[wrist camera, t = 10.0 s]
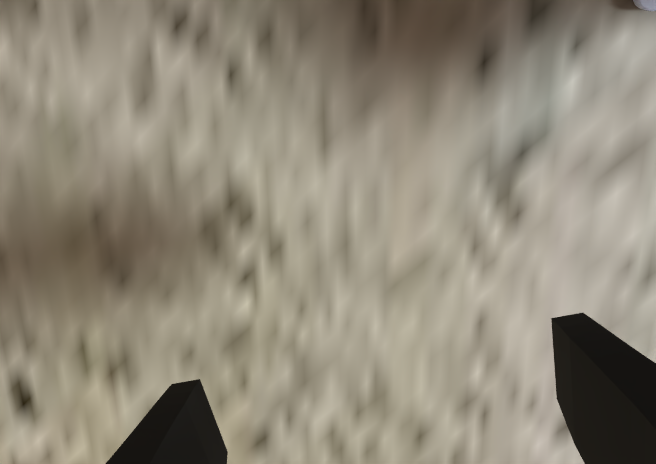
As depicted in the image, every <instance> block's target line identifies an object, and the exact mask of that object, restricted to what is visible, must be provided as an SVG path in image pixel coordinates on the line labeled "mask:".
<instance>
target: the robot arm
mask: <svg viewBox="0 0 656 464" xmlns="http://www.w3.org/2000/svg"><path fill="white" fill-rule="evenodd" d="M633 1H634V3H635V5H636V6H637V7H638V8H640V9H643V10H648V11H656V0H633ZM551 319H552V334H553V348H554V363H555V378H556V393H557V400H558V403H559V405H560V408H561V411H562V413H563V416H564V418H565V421H566V424H567V426H568V429H569V431H570V434H571V436H572V439H573V441H574V443H575V446H576V448H577V449H578V451H579V453H580V455H581V457H582V459H583V461H584V463H585V464H656V363H654V362H653V361H651V360H650V359H648V358H647V357H645V356H644V355H642V354H641V353H639V352H638V351H637V350H635V349H634V348H632V347H631V346H629V345H628V344H627V343H625V342H624V341H622V340H621V339H619V338H618V337H617V336H615V335H614V334H612V333H611V332H610V331H608V330H607V329H605V328H604V327H603V326H601V325H600V324H598V323H597V322H596V321H594V320H593V319H591V318H590V317H588V316H587V315H586V314H584V313H579V314H573V315H567V316H562V317H556V318H551ZM106 464H227V449H226V447H225V444H224V441H223V439H222V436H221V434H220V431H219V428H218V426H217V423H216V420H215V418H214V415H213V413H212V410H211V407H210V405H209V402H208V399H207V397H206V394H205V392H204V389H203V386H202V384H201V381H200V379H199V380H193V381H187V382H181V383H176V384H172V385H171V386H170V387H169V388H168V389H167V390H166V391H165V393H164V394H163V395H162V396H161V397H160V399H159V400H158V401H157V402H156V403H155V405H154V406H153V407H152V408H151V410H150V411H149V412H148V413H147V415H146V416H145V417H144V418H143V419H142V421H141V422H140V423H139V424H138V426H137V427H136V428H135V429H134V431H133V432H132V433H131V434H130V435H129V437H128V438H127V439H126V440H125V441H124V443H123V444H122V445H121V446H120V447H119V449H118V450H117V451H116V452H115V453H114V455H113V456H112V457H111V458H110V459H109V460H108V461H107V463H106Z"/></svg>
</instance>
